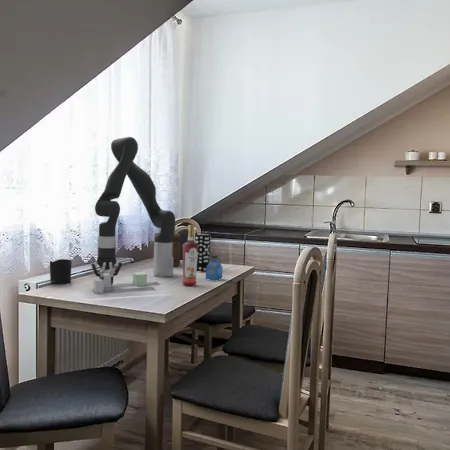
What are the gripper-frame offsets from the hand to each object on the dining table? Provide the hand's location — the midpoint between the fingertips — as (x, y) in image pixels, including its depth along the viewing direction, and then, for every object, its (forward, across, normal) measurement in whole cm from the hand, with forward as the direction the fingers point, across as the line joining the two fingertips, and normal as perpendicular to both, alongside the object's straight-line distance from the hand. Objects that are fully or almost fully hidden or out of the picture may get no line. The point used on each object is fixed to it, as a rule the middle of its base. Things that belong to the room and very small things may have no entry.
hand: (106, 285), depth 212 cm
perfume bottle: (+2, -55, -7) cm, 55 cm away
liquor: (+2, -38, +3) cm, 38 cm away
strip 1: (+1, -6, +10) cm, 12 cm away
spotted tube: (+1, -58, -30) cm, 65 cm away
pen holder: (+2, +17, -17) cm, 24 cm away
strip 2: (+1, -11, 0) cm, 11 cm away
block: (0, -15, 0) cm, 15 cm away
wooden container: (+2, -45, -51) cm, 68 cm away
